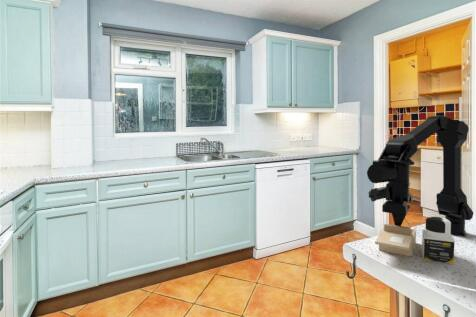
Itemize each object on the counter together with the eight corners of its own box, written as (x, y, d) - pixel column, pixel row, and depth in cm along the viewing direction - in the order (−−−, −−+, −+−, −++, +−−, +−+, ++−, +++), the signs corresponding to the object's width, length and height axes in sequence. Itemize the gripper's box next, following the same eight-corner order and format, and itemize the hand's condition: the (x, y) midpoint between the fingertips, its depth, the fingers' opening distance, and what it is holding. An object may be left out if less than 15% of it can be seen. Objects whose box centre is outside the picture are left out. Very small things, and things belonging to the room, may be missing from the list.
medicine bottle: (423, 261, 85) (424, 220, 84) (421, 251, 91) (422, 213, 90) (453, 265, 82) (455, 223, 81) (449, 255, 88) (451, 216, 87)
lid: (382, 231, 96) (382, 223, 95) (413, 236, 91) (413, 227, 90) (374, 243, 86) (375, 234, 86) (408, 250, 81) (409, 240, 81)
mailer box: (385, 239, 102) (385, 225, 102) (415, 244, 97) (416, 229, 96) (378, 251, 92) (379, 236, 92) (411, 258, 87) (412, 241, 87)
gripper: (376, 174, 104) (375, 216, 106) (364, 183, 89) (363, 233, 91) (413, 176, 98) (411, 221, 99) (406, 186, 83) (405, 239, 84)
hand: (397, 228), depth 94 cm, fingers closed
